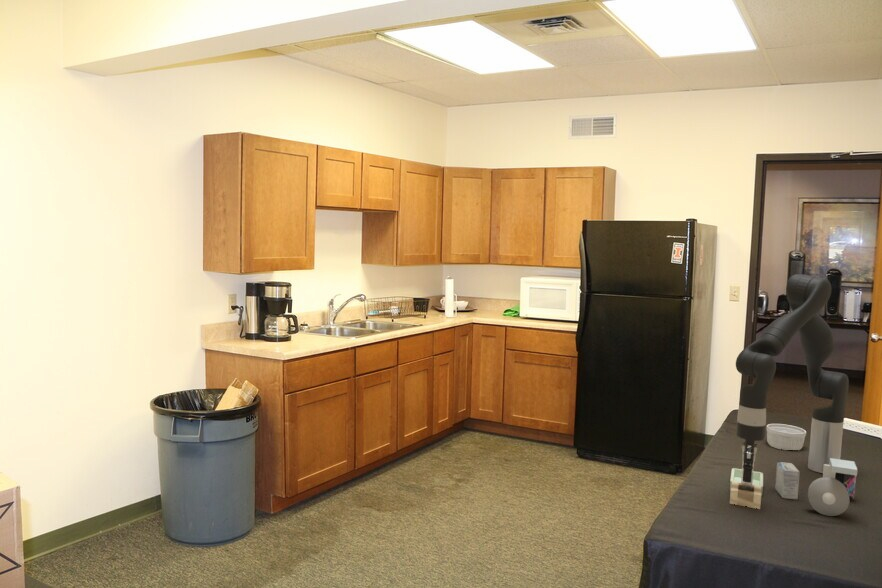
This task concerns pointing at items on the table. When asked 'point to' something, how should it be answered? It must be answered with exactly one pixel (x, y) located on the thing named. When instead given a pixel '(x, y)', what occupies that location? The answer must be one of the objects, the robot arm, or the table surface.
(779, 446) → the ramekin
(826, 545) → the table surface
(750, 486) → the pin
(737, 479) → the tray
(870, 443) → the table surface
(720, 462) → the table surface
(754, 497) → the wooden square frame
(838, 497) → the trolley wheel
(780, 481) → the medicine box
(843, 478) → the supplement container
